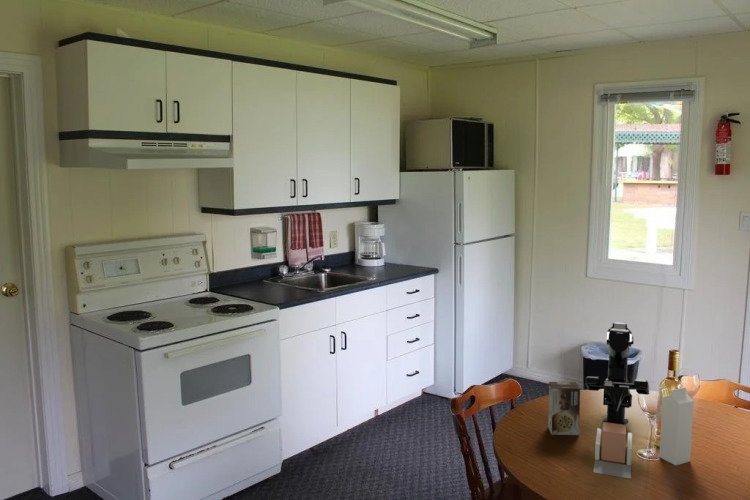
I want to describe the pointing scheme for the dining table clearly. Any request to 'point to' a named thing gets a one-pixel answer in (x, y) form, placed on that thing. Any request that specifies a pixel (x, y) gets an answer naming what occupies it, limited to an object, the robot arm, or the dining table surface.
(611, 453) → the block
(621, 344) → the robot arm
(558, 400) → the coffee box
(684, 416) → the milk
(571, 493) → the dining table surface
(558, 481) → the dining table surface
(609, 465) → the chute
